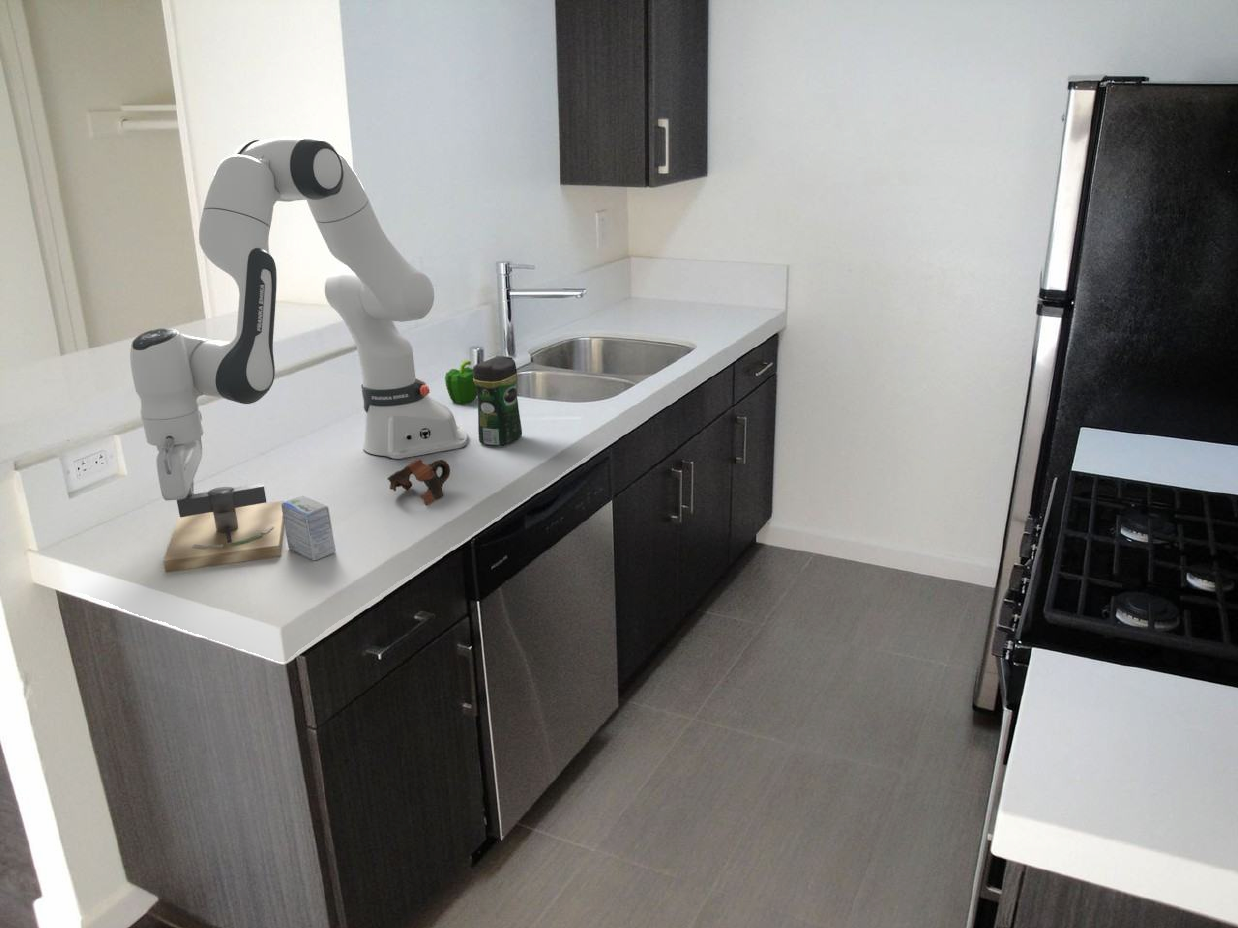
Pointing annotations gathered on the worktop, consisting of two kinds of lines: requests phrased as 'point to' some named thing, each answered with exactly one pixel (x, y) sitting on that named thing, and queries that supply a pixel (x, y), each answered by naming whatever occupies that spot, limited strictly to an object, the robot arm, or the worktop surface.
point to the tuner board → (209, 547)
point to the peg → (222, 504)
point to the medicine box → (308, 527)
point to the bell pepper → (461, 384)
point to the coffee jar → (497, 401)
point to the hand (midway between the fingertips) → (189, 503)
